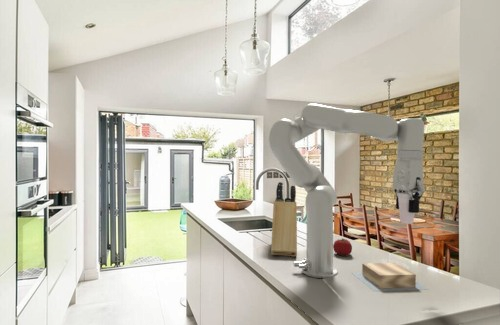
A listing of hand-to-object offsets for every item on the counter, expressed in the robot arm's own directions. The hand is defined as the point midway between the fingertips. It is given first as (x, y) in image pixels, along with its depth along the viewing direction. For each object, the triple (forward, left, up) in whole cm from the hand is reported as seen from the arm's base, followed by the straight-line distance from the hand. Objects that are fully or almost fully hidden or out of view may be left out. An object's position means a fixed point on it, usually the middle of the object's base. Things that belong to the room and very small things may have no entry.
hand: (406, 210), depth 101 cm
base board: (-5, +3, -25) cm, 25 cm away
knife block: (-30, +49, -25) cm, 63 cm away
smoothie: (0, 0, -4) cm, 4 cm away
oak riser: (-5, +3, -24) cm, 25 cm away
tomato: (-7, +36, -25) cm, 45 cm away
